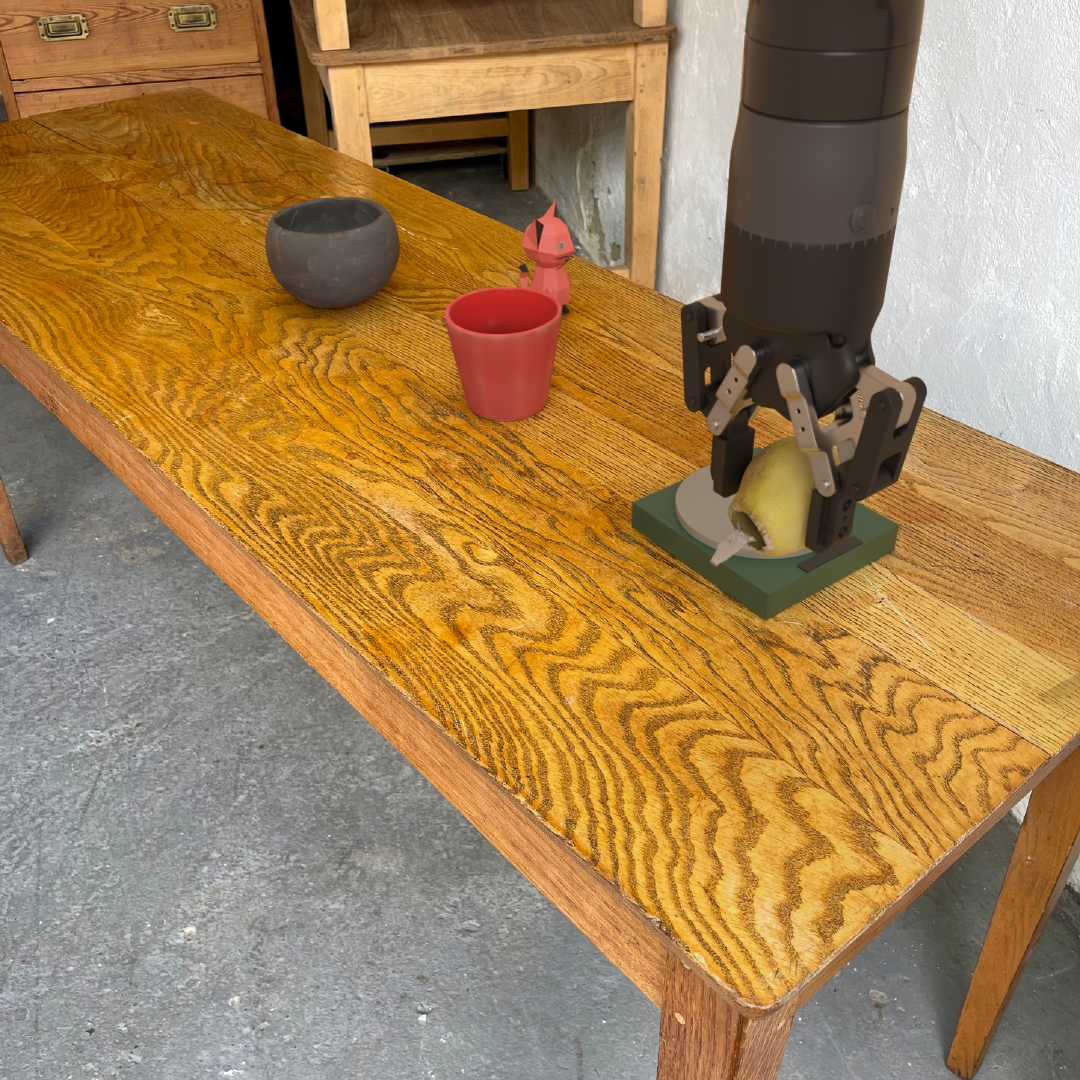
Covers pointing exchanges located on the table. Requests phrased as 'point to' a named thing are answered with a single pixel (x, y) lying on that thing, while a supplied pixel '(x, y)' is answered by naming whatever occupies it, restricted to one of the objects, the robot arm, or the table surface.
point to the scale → (753, 580)
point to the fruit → (771, 503)
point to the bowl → (332, 250)
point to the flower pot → (504, 349)
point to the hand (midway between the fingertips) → (775, 516)
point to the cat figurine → (548, 256)
